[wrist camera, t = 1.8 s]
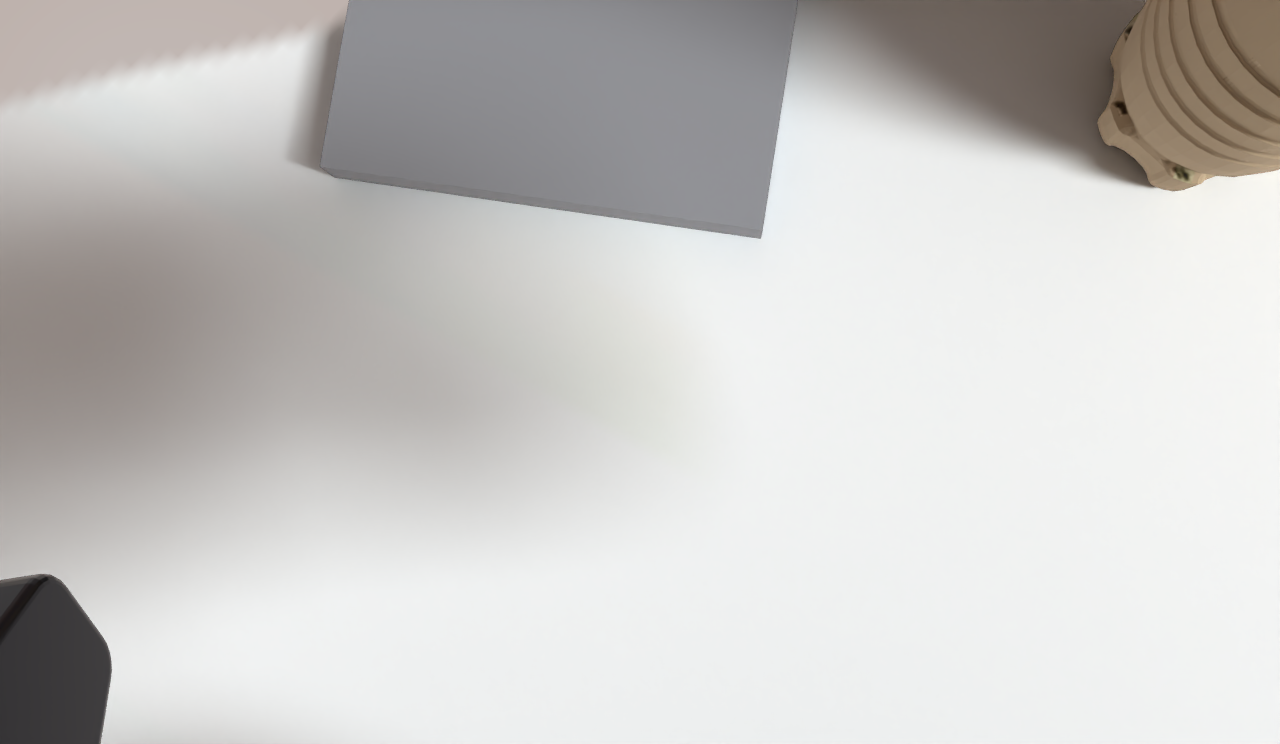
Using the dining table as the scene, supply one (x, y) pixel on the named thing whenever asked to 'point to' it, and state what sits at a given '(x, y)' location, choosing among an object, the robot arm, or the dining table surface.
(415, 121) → the end pad
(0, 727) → the robot arm
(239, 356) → the dining table surface
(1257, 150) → the handle
